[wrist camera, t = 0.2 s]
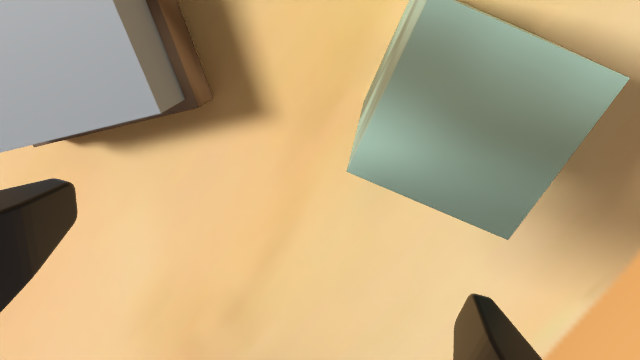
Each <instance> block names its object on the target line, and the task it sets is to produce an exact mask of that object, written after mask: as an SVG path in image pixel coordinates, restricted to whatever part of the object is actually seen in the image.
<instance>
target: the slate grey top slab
mask: <svg viewBox="0 0 640 360" xmlns="http://www.w3.org/2000/svg"><path fill="white" fill-rule="evenodd" d="M183 100H185V98H184V95H183V93H182V90H181V88H180V85H179V83H178V80H177V77H176V75H175V72H174V70H173V67H172V65H171V62H170V60H169V57H168V55H167V52H166V50H165V47H164V45H163V42H162V40H161V37H160V35H159V32H158V30H157V27H156V25H155V22H154V20H153V17H152V15H151V12H150V10H149V7H148V5H147V2H146V0H0V152H4V151H9V150H13V149H17V148H21V147H25V146H29V145H33V144H37V143H41V142H46V141H50V140H54V139H58V138H62V137H66V136H70V135H74V134H78V133H82V132H87V131H91V130H95V129H99V128H103V127H107V126H111V125H115V124H119V123H124V122H128V121H132V120H136V119H140V118H144V117H148V116H152V115H156V114H161V113H162V112H164V111H166V110H168V109H169V108H171V107H173V106H174V105H176V104H178V103H180V102H181V101H183Z"/></svg>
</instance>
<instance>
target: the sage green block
mask: <svg viewBox="0 0 640 360" xmlns="http://www.w3.org/2000/svg"><path fill="white" fill-rule="evenodd" d="M629 79H630V78H629V77H627V76H624V75H622V74H620V73H618V72H616V71H614V70H611V69H609V68H607V67H605V66H603V65H601V64H598V63H596V62H594V61H592V60H590V59H588V58H585V57H583V56H581V55H579V54H577V53H575V52H572V51H570V50H568V49H566V48H564V47H562V46H559V45H557V44H555V43H553V42H551V41H549V40H546V39H544V38H542V37H540V36H538V35H536V34H533V33H531V32H529V31H526V30H524V29H522V28H520V27H517V26H515V25H513V24H510V23H508V22H506V21H504V20H501V19H499V18H497V17H495V16H492V15H490V14H488V13H485V12H483V11H481V10H479V9H476V8H474V7H472V6H469V5H467V4H465V3H463V2H460V1H458V0H409V2H408V4H407V6H406V9H405V11H404V13H403V15H402V18H401V20H400V22H399V24H398V26H397V29H396V31H395V33H394V35H393V38H392V40H391V42H390V44H389V46H388V49H387V51H386V53H385V55H384V58H383V60H382V62H381V64H380V66H379V69H378V71H377V73H376V75H375V78H374V80H373V82H372V84H371V86H370V89H369V91H368V93H367V95H366V98H365V100H364V104H363V108H362V112H361V116H360V120H359V124H358V128H357V132H356V136H355V140H354V144H353V148H352V152H351V156H350V160H349V164H348V168H347V172H349V173H351V174H353V175H356V176H358V177H360V178H363V179H365V180H368V181H370V182H372V183H375V184H377V185H379V186H382V187H384V188H386V189H389V190H391V191H394V192H396V193H398V194H401V195H403V196H405V197H408V198H410V199H412V200H415V201H417V202H419V203H422V204H424V205H427V206H429V207H431V208H434V209H436V210H438V211H441V212H443V213H445V214H448V215H450V216H452V217H455V218H457V219H460V220H462V221H464V222H467V223H469V224H471V225H474V226H476V227H478V228H481V229H483V230H486V231H488V232H490V233H493V234H495V235H497V236H500V237H502V238H504V239H507V240H508V239H509V238H510V237H511V235H512V234H513V233H514V231H515V230H516V229H517V227H518V226H519V225H520V224H521V222H522V221H523V220H524V218H525V217H526V216H527V214H528V213H529V212H530V210H531V209H532V208H533V206H534V205H535V204H536V202H537V201H538V200H539V198H540V197H541V196H542V194H543V193H544V192H545V190H546V189H547V188H548V186H549V185H550V184H551V182H552V181H553V180H554V178H555V177H556V176H557V174H558V173H559V172H560V170H561V169H562V168H563V166H564V165H565V164H566V162H567V161H568V160H569V158H570V157H571V156H572V154H573V153H574V152H575V150H576V149H577V148H578V147H579V145H580V144H581V143H582V141H583V140H584V139H585V137H586V136H587V135H588V133H589V132H590V131H591V129H592V128H593V127H594V125H595V124H596V123H597V121H598V120H599V119H600V117H601V116H602V115H603V113H604V112H605V111H606V109H607V108H608V107H609V105H610V104H611V103H612V101H613V100H614V99H615V97H616V96H617V95H618V93H619V92H620V91H621V89H622V88H623V87H624V85H625V84H626V83H627V81H628V80H629Z"/></svg>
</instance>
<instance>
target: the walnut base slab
mask: <svg viewBox="0 0 640 360" xmlns="http://www.w3.org/2000/svg"><path fill="white" fill-rule="evenodd" d="M146 2H147V5H148V7H149V10H150V12H151V15H152V17H153V20H154V22H155V25H156V27H157V30H158V32H159V35H160V37H161V40H162V42H163V45H164V47H165V50H166V52H167V55H168V57H169V60H170V62H171V65H172V67H173V70H174V72H175V75H176V77H177V80H178V83H179V85H180V88H181V90H182V93H183V95H184V98H185V100H183V101H181V102H180V103H178V104H176V105H174V106H173V107H171V108H169V109H168V110H166V111H164V112H162V113H161V114H156V115H152V116H148V117H144V118H140V119H136V120H132V121H128V122H124V123H119V124H115V125H111V126H107V127H103V128H99V129H95V130H91V131H87V132H82V133H78V134H74V135H70V136H66V137H62V138H58V139H54V140H50V141H46V142H41V143H37V144H33V146H34V147H37V146H41V145H45V144H50V143H54V142H58V141H62V140H66V139H70V138H74V137H78V136H83V135H87V134H91V133H95V132H99V131H103V130H107V129H112V128H116V127H120V126H124V125H128V124H132V123H136V122H140V121H145V120H149V119H153V118H157V117H161V116H165V115H169V114H174V113H178V112H182V111H186V110H190V109H194V108H198V107H200V106H202V105H203V104H205V103H206V102H208V101H209V100H211V99H212V98H213V96H212V93H211V90H210V88H209V85H208V82H207V80H206V77H205V74H204V72H203V69H202V66H201V64H200V61H199V58H198V56H197V53H196V50H195V48H194V45H193V42H192V40H191V37H190V34H189V32H188V29H187V26H186V24H185V21H184V18H183V16H182V13H181V10H180V8H179V5H178V2H177V0H146Z"/></svg>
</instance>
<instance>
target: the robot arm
mask: <svg viewBox="0 0 640 360" xmlns="http://www.w3.org/2000/svg"><path fill="white" fill-rule="evenodd" d="M76 218H77V203H76V193H75V187H74V185H73V184H72V183H70V182H67V181H63V180H60V179H48V180H43V181H39V182H35V183H30V184H26V185H21V186H17V187H13V188H8V189H4V190H0V312H1V311H2V310H3V309H4V308H5V307H6V306H7V305H8V304H9V303H10V302H11V301H12V300H13V298H14V297H15V296H16V295H17V294H18V293H19V292H20V291H21V290H22V289H23V288H24V287H25V286H26V284H27V283H28V282H29V281H30V280H31V279H32V278H33V276H34V275H35V274H36V273H37V272H38V270H39V269H40V268H41V266H42V265H43V264H44V263H45V261H46V260H47V259H48V257H49V256H50V255H51V253H52V252H53V251H54V249H55V248H56V247H57V245H58V244H59V243H60V241H61V240H62V239H63V237H64V236H65V235H66V233H67V232H68V231H69V230H70V228H71V227H72V226H73V224H74V223H75V221H76ZM453 360H542V359H541V357H540V356H539V355H538V354H537V353H536V351H535V350H534V349H533V348H532V347H531V345H530V344H529V343H528V342H527V341H526V339H525V338H524V337H523V336H522V335H521V333H520V332H519V331H518V330H517V329H516V327H515V326H514V325H513V324H512V323H511V322H510V320H509V319H508V318H507V317H506V316H505V314H504V313H503V312H502V311H501V310H500V308H499V307H498V306H497V305H496V304H495V302H494V301H493V300H492V299H491V298H489V297H485V296H482V295H478V294H470V295H469V297H468V298H467V300H466V302H465V304H464V305H463V307H462V309H461V311H460V313H459V315H458V317H457V319H456V322H455V326H454V354H453Z"/></svg>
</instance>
